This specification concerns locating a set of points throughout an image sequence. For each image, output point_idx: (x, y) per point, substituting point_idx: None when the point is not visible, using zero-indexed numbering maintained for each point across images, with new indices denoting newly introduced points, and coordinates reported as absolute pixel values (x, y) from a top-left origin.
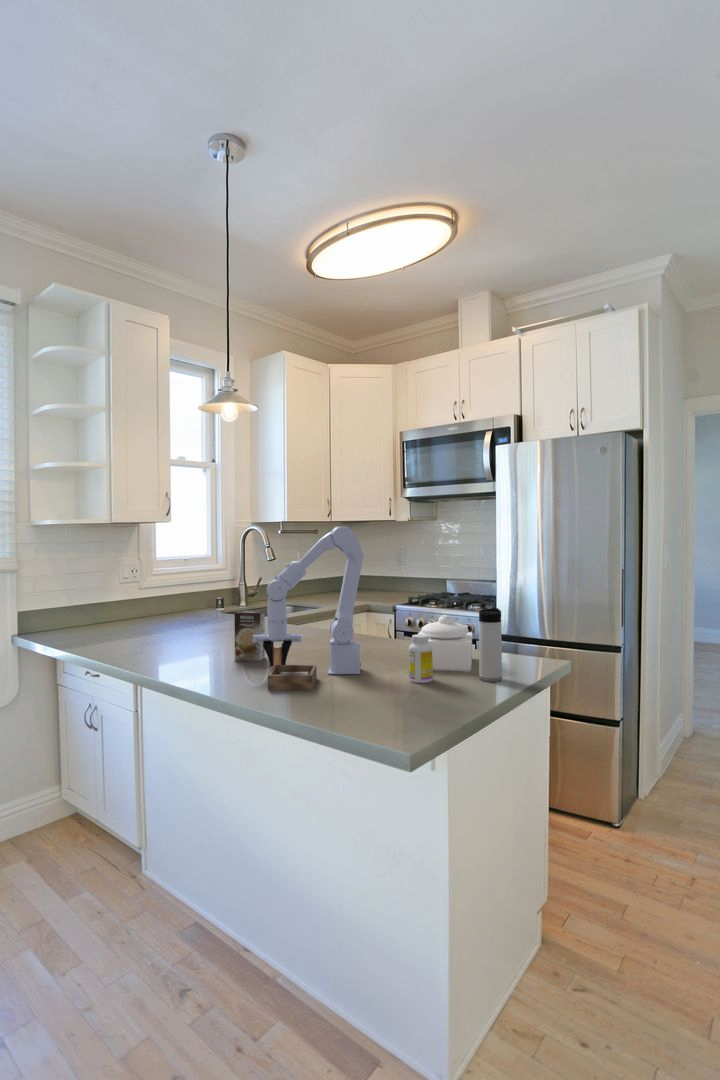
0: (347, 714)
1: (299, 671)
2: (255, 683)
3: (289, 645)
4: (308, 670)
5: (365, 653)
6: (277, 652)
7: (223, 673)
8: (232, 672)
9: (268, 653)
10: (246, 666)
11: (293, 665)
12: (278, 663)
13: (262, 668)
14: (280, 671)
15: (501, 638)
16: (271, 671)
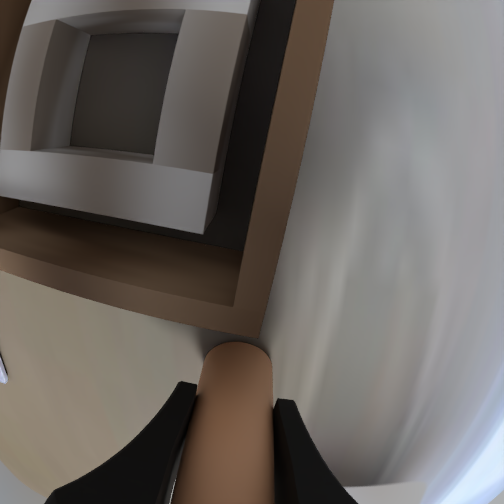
0: None
1: (56, 238)
2: (414, 180)
3: (45, 502)
4: (2, 227)
5: (4, 460)
6: (223, 489)
7: (483, 404)
8: (451, 419)
9: (324, 485)
10: (370, 481)
11: (69, 272)
12: (225, 403)
13: None
14: (210, 272)
15: None
16: (316, 33)
